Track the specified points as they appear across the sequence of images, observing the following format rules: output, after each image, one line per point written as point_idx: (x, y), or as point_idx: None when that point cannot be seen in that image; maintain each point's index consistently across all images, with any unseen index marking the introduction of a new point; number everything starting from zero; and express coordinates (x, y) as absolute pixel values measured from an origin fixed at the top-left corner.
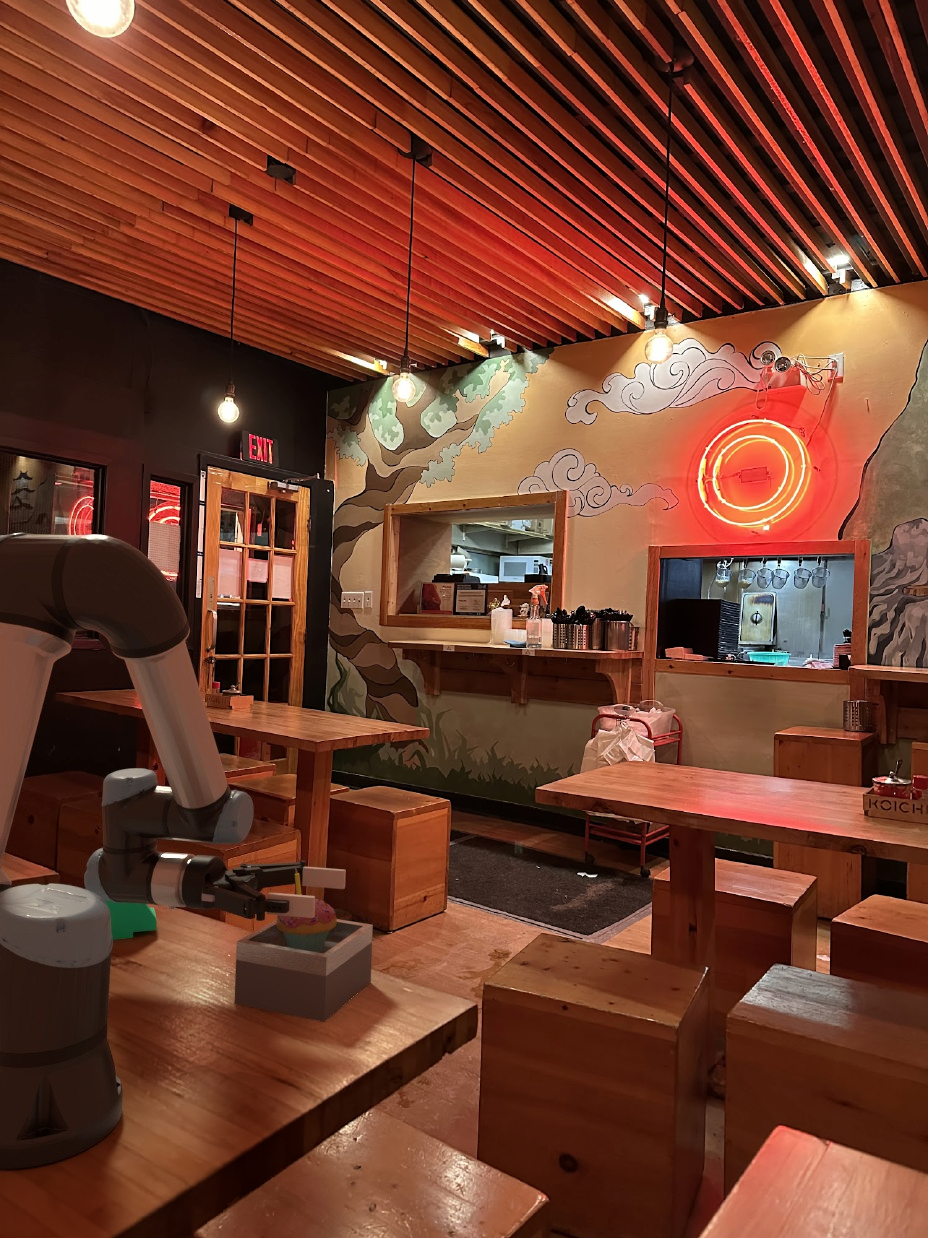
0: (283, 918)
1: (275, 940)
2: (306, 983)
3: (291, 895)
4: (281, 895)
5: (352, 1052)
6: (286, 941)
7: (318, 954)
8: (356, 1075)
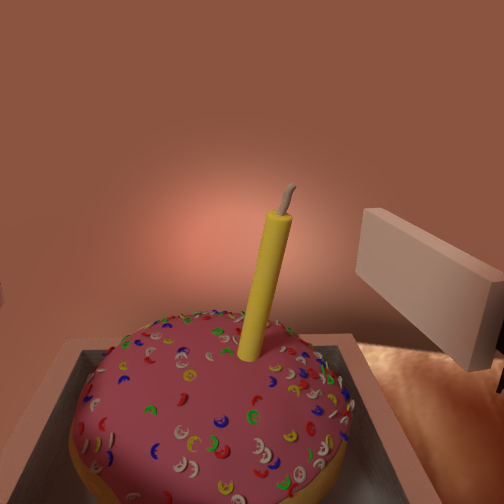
0: (339, 416)
1: None
2: None
3: (427, 235)
4: (461, 251)
5: (385, 378)
6: None
7: (352, 349)
8: (428, 353)
